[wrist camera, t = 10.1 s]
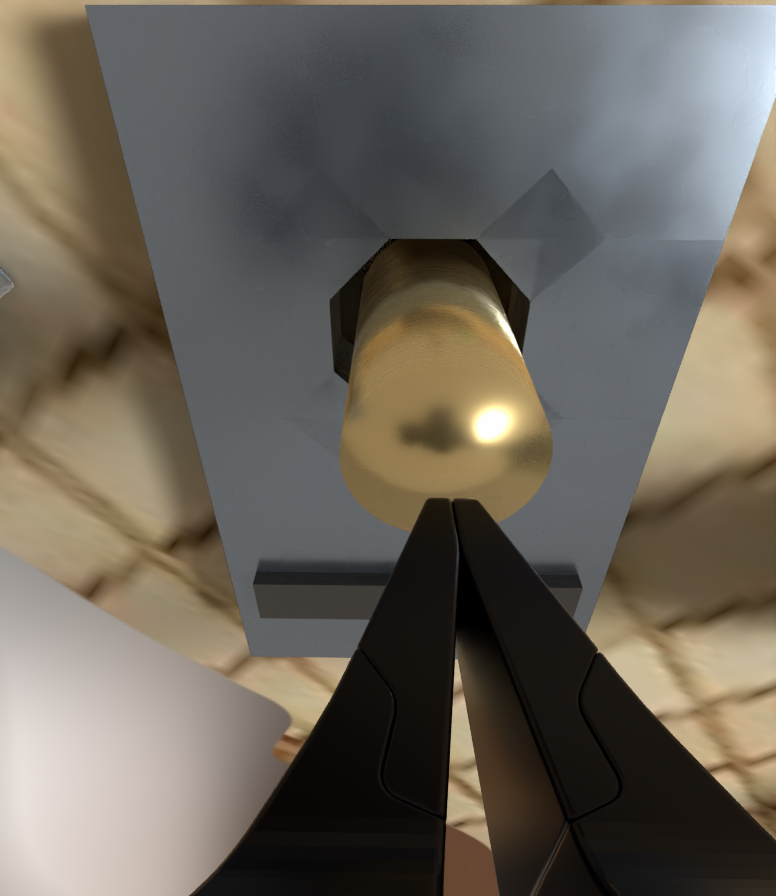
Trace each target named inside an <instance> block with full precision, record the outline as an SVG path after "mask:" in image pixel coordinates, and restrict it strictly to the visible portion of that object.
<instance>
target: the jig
mask: <svg viewBox="0 0 776 896" xmlns="http://www.w3.org/2000/svg"><path fill="white" fill-rule="evenodd" d="M85 8H86V12H87V16H88V20H89V24H90V28H91V32H92V36H93V40H94V43H95V47H96V51H97V55H98V59H99V63H100V67H101V71H102V75H103V79H104V83H105V87H106V90H107V94H108V98H109V102H110V106H111V110H112V114H113V118H114V122H115V126H116V130H117V133H118V137H119V141H120V145H121V149H122V153H123V157H124V161H125V165H126V169H127V173H128V177H129V180H130V184H131V188H132V192H133V196H134V200H135V204H136V208H137V212H138V216H139V220H140V223H141V227H142V231H143V235H144V239H145V243H146V247H147V251H148V255H149V259H150V263H151V267H152V270H153V274H154V278H155V282H156V286H157V290H158V294H159V298H160V302H161V306H162V310H163V313H164V317H165V321H166V325H167V329H168V333H169V337H170V341H171V345H172V349H173V353H174V356H175V360H176V364H177V368H178V372H179V376H180V380H181V384H182V388H183V392H184V396H185V400H186V403H187V407H188V411H189V415H190V419H191V423H192V427H193V431H194V435H195V439H196V443H197V446H198V450H199V454H200V458H201V462H202V466H203V470H204V474H205V478H206V482H207V486H208V490H209V493H210V497H211V501H212V505H213V509H214V513H215V517H216V521H217V525H218V529H219V533H220V536H221V540H222V544H223V548H224V552H225V556H226V560H227V564H228V568H229V572H230V576H231V580H232V583H233V587H234V591H235V595H236V599H237V603H238V607H239V611H240V615H241V619H242V623H243V626H244V630H245V634H246V638H247V642H248V646H249V650H250V654H251V656H261V657H339V658H352V655H353V653H354V651H355V650H356V649H357V646H358V643H359V641H360V639H361V637H362V635H363V633H364V631H365V629H366V626H367V624H368V622H369V620H370V618H371V616H372V614H373V612H374V609H375V607H376V605H377V603H378V601H379V599H380V597H381V595H382V592H383V590H384V588H385V586H386V584H387V582H388V580H389V578H390V575H391V573H392V571H393V569H394V567H395V565H396V563H397V561H398V558H399V556H400V554H401V552H402V550H403V548H404V546H405V544H406V541H407V539H408V537H409V535H410V533H411V532H408V531H404V530H401V529H398V528H396V527H393V526H391V525H389V524H387V523H385V522H383V521H381V520H379V519H378V518H376V517H374V516H373V515H371V514H370V513H369V512H368V511H367V510H365V509H364V508H363V507H362V506H361V505H360V504H359V503H358V502H357V501H356V500H355V498H354V497H353V495H352V494H351V493H350V491H349V489H348V487H347V485H346V483H345V481H344V479H343V475H342V472H341V468H340V461H339V449H340V442H341V434H342V427H343V420H344V413H345V406H346V399H347V392H348V385H349V378H350V371H351V363H352V356H353V349H354V345H353V344H352V343H351V342H350V341H349V340H348V339H347V338H346V337H344V336H343V335H342V334H341V321H340V303H339V290H340V289H341V288H342V287H343V286H344V285H345V284H346V283H347V282H348V280H349V279H350V278H351V277H352V276H353V275H354V274H355V273H356V272H357V271H358V270H359V269H360V268H361V267H362V266H363V265H364V264H365V263H366V262H367V261H368V260H369V259H370V258H371V257H372V256H373V255H374V254H375V253H376V252H377V251H378V250H379V249H380V248H381V247H382V246H383V245H384V244H385V243H386V242H387V241H388V240H389V239H476V240H477V241H478V242H479V243H480V244H481V245H482V246H483V248H484V249H485V250H486V251H487V252H488V253H489V254H490V256H491V257H492V258H493V259H494V260H495V261H496V262H497V264H498V265H499V266H500V267H501V268H502V269H503V270H504V272H505V273H506V274H507V275H508V276H509V277H510V278H511V280H512V289H511V296H510V303H509V311H508V318H507V319H508V322H509V324H510V327H511V329H512V332H513V334H514V337H515V339H516V342H517V344H518V347H519V349H520V352H521V355H522V357H523V360H524V362H525V365H526V367H527V370H528V372H529V375H530V377H531V380H532V382H533V385H534V387H535V390H536V392H537V395H538V398H539V400H540V403H541V405H542V408H543V410H544V413H545V415H546V418H547V420H548V423H549V426H550V428H551V434H552V439H553V453H552V460H551V464H550V468H549V471H548V473H547V475H546V478H545V480H544V482H543V483H542V485H541V486H540V488H539V489H538V491H537V492H536V494H535V495H534V496H533V497H532V498H531V499H530V500H529V501H528V502H527V503H526V504H525V505H524V506H523V507H522V508H521V509H519V510H518V511H517V512H515V513H514V514H512V515H511V516H509V517H508V518H506V519H504V520H502V521H500V522H498V523H497V524H498V525H499V526H500V528H501V529H502V530H503V531H504V533H505V534H506V535H507V536H508V538H509V539H510V540H511V541H512V543H513V544H514V545H515V546H516V548H517V549H518V550H519V551H520V553H521V554H522V555H523V556H524V558H525V559H526V560H527V561H528V563H529V564H530V565H531V566H532V567H533V569H534V570H535V571H536V572H537V574H538V575H539V576H540V577H541V579H542V580H543V581H544V582H545V584H546V585H547V586H548V587H549V589H550V590H551V591H552V592H553V594H554V595H555V596H556V597H557V599H558V600H559V601H560V602H561V604H562V605H563V606H564V607H565V608H566V610H567V611H568V612H569V613H570V615H571V616H572V617H573V618H574V620H575V621H576V622H577V623H578V625H579V626H580V627H581V628H582V630H583V631H584V632H586V630H587V627H588V624H589V621H590V618H591V615H592V613H593V610H594V607H595V604H596V601H597V599H598V596H599V593H600V590H601V587H602V584H603V582H604V579H605V576H606V573H607V570H608V568H609V565H610V562H611V559H612V556H613V553H614V551H615V548H616V545H617V542H618V539H619V537H620V534H621V531H622V528H623V525H624V522H625V520H626V517H627V514H628V511H629V508H630V506H631V503H632V500H633V497H634V494H635V491H636V489H637V486H638V483H639V480H640V477H641V474H642V472H643V469H644V466H645V463H646V460H647V458H648V455H649V452H650V449H651V446H652V443H653V441H654V438H655V435H656V432H657V429H658V427H659V424H660V421H661V418H662V415H663V412H664V410H665V407H666V404H667V401H668V398H669V396H670V393H671V390H672V387H673V384H674V381H675V379H676V376H677V373H678V370H679V367H680V365H681V362H682V359H683V356H684V353H685V350H686V348H687V345H688V342H689V339H690V336H691V333H692V331H693V328H694V325H695V322H696V319H697V317H698V314H699V311H700V308H701V305H702V302H703V300H704V297H705V294H706V291H707V288H708V286H709V283H710V280H711V277H712V274H713V271H714V269H715V266H716V263H717V260H718V257H719V255H720V252H721V249H722V246H723V243H724V240H725V238H726V235H727V232H728V229H729V226H730V224H731V221H732V218H733V215H734V212H735V209H736V207H737V204H738V201H739V198H740V195H741V192H742V190H743V187H744V184H745V181H746V178H747V176H748V173H749V170H750V167H751V164H752V161H753V159H754V156H755V153H756V150H757V147H758V145H759V142H760V139H761V136H762V133H763V130H764V128H765V125H766V122H767V119H768V116H769V114H770V111H771V108H772V105H773V102H774V99H775V97H776V5H85ZM455 659H458V656H457V651H456V648H455Z"/></svg>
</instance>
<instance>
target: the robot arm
mask: <svg viewBox="0 0 776 896" xmlns="http://www.w3.org/2000/svg"><path fill="white" fill-rule="evenodd" d="M455 648H456V651H457V656H458V662H459V668H460V673H461V679H462V685H463V690H464V696H465V702H466V707H467V713H468V719H469V724H470V730H471V736H472V742H473V747H474V753H475V759H476V764H477V770H478V776H479V781H480V787H481V793H482V798H483V804H484V810H485V815H486V821H487V827H488V833H489V838H490V844H491V850H492V855H493V861H494V866H495V872H496V878H497V884H498V889H499V895H500V896H776V840H775V839H774V838H773V837H772V836H771V835H770V834H769V833H768V832H767V831H766V830H765V829H764V828H763V827H762V826H761V825H760V824H759V823H758V822H757V821H756V820H755V819H754V818H753V817H752V816H751V815H750V814H749V813H748V812H747V811H746V810H745V809H744V808H743V807H742V806H741V805H740V804H739V803H738V802H737V801H736V800H735V799H734V798H733V797H732V795H731V794H730V793H729V792H728V791H727V790H726V789H725V788H724V787H723V786H722V785H721V784H720V783H719V782H718V781H717V780H716V779H715V778H714V777H713V776H712V775H711V774H710V773H709V772H708V771H707V770H706V769H705V768H704V767H703V766H702V765H701V764H700V763H699V762H698V761H697V760H696V759H695V757H694V756H693V755H692V754H691V753H690V752H689V751H688V750H687V749H686V748H685V747H684V746H683V745H682V744H681V743H680V742H679V741H678V740H677V739H676V738H675V737H674V736H673V735H672V734H671V733H670V732H669V730H668V729H667V728H666V727H665V726H664V725H663V724H662V723H661V722H660V721H659V720H658V719H657V718H656V717H655V715H654V714H653V713H652V712H651V711H650V710H649V709H648V708H647V707H646V706H645V705H644V704H643V702H642V701H641V700H640V699H639V698H638V696H637V695H636V694H635V693H634V692H633V691H632V689H631V688H630V687H629V686H628V685H627V684H626V682H625V681H624V680H623V679H622V678H621V676H620V675H619V674H618V673H617V672H616V670H615V669H614V668H613V667H612V665H611V664H610V663H609V662H608V660H607V659H606V658H605V657H604V655H603V654H602V653H597V652H598V649H597V647H596V646H595V644H594V643H593V642H592V641H591V640H590V638H589V637H588V636H587V635H586V633H585V632H584V631H583V630H582V628H581V627H580V626H579V625H578V623H577V622H576V621H575V620H574V618H573V617H572V616H571V615H570V613H569V612H568V611H567V610H566V608H565V607H564V606H563V605H562V604H561V602H560V601H559V600H558V599H557V597H556V596H555V595H554V594H553V592H552V591H551V590H550V589H549V587H548V586H547V585H546V584H545V582H544V581H543V580H542V579H541V577H540V576H539V575H538V574H537V572H536V571H535V570H534V569H533V567H532V566H531V565H530V564H529V563H528V561H527V560H526V559H525V558H524V556H523V555H522V554H521V553H520V551H519V550H518V549H517V548H516V546H515V545H514V544H513V543H512V541H511V540H510V539H509V538H508V536H507V535H506V534H505V533H504V531H503V530H502V529H501V528H500V526H499V525H498V524H497V523H496V522H495V520H494V519H493V518H492V517H491V515H490V514H489V513H488V512H487V510H486V509H485V508H484V507H483V505H482V504H481V503H480V502H479V501H478V500H477V499H475V498H455V499H453V501H451V499H449V498H428V499H427V500H426V501H425V503H424V505H423V507H422V510H421V512H420V514H419V516H418V518H417V520H416V522H415V524H414V527H413V529H412V531H411V533H410V535H409V537H408V539H407V541H406V544H405V546H404V548H403V550H402V552H401V554H400V556H399V558H398V561H397V563H396V565H395V567H394V569H393V571H392V573H391V575H390V578H389V580H388V582H387V584H386V586H385V588H384V590H383V592H382V595H381V597H380V599H379V601H378V603H377V605H376V607H375V609H374V612H373V614H372V616H371V618H370V620H369V622H368V624H367V626H366V629H365V631H364V633H363V635H362V637H361V639H360V641H359V643H358V646H357V649H356V650H355V651H354V653H353V655H352V658H351V660H350V662H349V664H348V666H347V668H346V670H345V672H344V674H343V676H342V678H341V680H340V682H339V684H338V686H337V688H336V690H335V692H334V694H333V695H332V697H331V699H330V701H329V703H328V705H327V706H326V708H325V710H324V711H323V713H322V715H321V716H320V718H319V720H318V721H317V723H316V725H315V726H314V728H313V730H312V731H311V733H310V735H309V736H308V738H307V739H306V741H305V742H304V744H303V745H302V747H301V748H300V750H299V752H298V753H297V755H296V756H295V758H294V759H293V761H292V762H291V764H290V766H289V767H288V769H287V770H286V772H285V773H284V775H283V776H282V778H281V780H280V781H279V783H278V784H277V786H276V787H275V789H274V790H273V792H272V794H271V795H270V797H269V798H268V800H267V801H266V803H265V804H264V806H263V807H262V809H261V810H260V812H259V814H258V815H257V817H256V818H255V820H254V821H253V823H252V824H251V825H250V827H249V828H248V830H247V831H246V833H245V834H244V835H243V837H242V838H241V840H240V841H239V842H238V844H237V845H236V846H235V848H234V849H233V850H232V851H231V853H230V854H229V855H228V856H227V858H226V859H225V860H224V861H223V862H222V863H221V864H220V866H219V867H218V868H217V869H216V870H215V871H214V872H213V873H212V874H211V875H210V876H209V877H208V878H207V879H206V880H205V881H204V882H203V883H202V884H201V885H200V886H199V887H198V888H197V889H196V890H195V891H194V892H193V893H192V894H190V895H189V896H443V894H444V893H443V892H444V861H445V860H444V859H445V838H446V837H445V836H446V818H447V799H448V781H449V762H450V743H451V724H452V705H453V686H454V667H455Z"/></svg>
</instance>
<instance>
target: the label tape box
mask: <svg viewBox="0 0 776 896" xmlns="http://www.w3.org/2000/svg"><path fill="white" fill-rule="evenodd" d="M13 288H14V284H13V282H12V281H11V280H10V279H9V278H8V276H7V275H6V274H5V273H4V272H3V271H2V270H1V269H0V298H1V297H3V296H4V295H5V294H7V293H8V292H9V291H11V290H12V289H13Z"/></svg>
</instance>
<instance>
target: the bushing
mask: <svg viewBox="0 0 776 896" xmlns="http://www.w3.org/2000/svg"><path fill="white" fill-rule="evenodd" d="M552 453H553V439H552V434H551V428H550V426H549V423H548V420H547V418H546V415H545V413H544V410H543V408H542V405H541V403H540V400H539V398H538V395H537V392H536V390H535V387H534V385H533V382H532V380H531V377H530V375H529V372H528V370H527V367H526V365H525V362H524V360H523V357H522V355H521V352H520V349H519V347H518V344H517V342H516V339H515V337H514V334H513V332H512V329H511V327H510V324H509V322H508V319H507V317H506V314H505V311H504V309H503V306H502V304H501V301H500V299H499V296H498V294H497V291H496V289H495V286H494V284H493V281H492V279H491V276H490V274H489V271H488V268H487V266H486V265H485V263H484V261H483V259H482V258H481V257H480V256H479V254H478V253H477V252H476V251H475V250H474V249H473V248H472V247H471V246H469V245H468V244H467V243H465V242H464V241H462V240H460V239H399V240H397V241H395V242H393V243H392V244H390V245H389V246H387V247H386V248H385V249H384V250H383V251H381V252H380V253H379V255H378V256H377V257H376V258H375V259H374V261H373V262H372V264H371V265H370V267H369V269H368V271H367V273H366V276H365V279H364V282H363V287H362V292H361V300H360V307H359V314H358V321H357V328H356V335H355V342H354V349H353V356H352V363H351V371H350V378H349V385H348V392H347V399H346V406H345V413H344V420H343V427H342V434H341V442H340V449H339V461H340V468H341V472H342V475H343V479H344V481H345V483H346V485H347V487H348V489H349V491H350V493H351V494H352V495H353V497H354V498H355V500H356V501H357V502H358V503H359V504H360V505H361V506H362V507H363V508H364V509H365V510H367V511H368V512H369V513H370V514H371V515H373V516H374V517H376V518H378V519H379V520H381V521H383V522H385V523H387V524H389V525H391V526H393V527H396V528H398V529H401V530H404V531H408V532H411V531H412V529H413V527H414V524H415V522H416V520H417V518H418V516H419V514H420V512H421V510H422V507H423V505H424V503H425V501H426V500H427V499H428V498H449V499H451V501H453V499H455V498H475V499H477V500H478V501H479V502H480V503H481V504H482V505H483V507H484V508H485V509H486V510H487V512H488V513H489V514H490V515H491V517H492V518H493V519H494V520H495V522H496V523H498V522H500V521H502V520H504V519H506V518H508V517H509V516H511V515H512V514H514V513H515V512H517V511H518V510H519V509H521V508H522V507H523V506H524V505H525V504H526V503H527V502H528V501H529V500H530V499H531V498H532V497H533V496H534V495H535V494H536V492H537V491H538V489H539V488H540V486H541V485H542V483H543V482H544V480H545V478H546V475H547V473H548V471H549V468H550V464H551V460H552Z"/></svg>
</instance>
